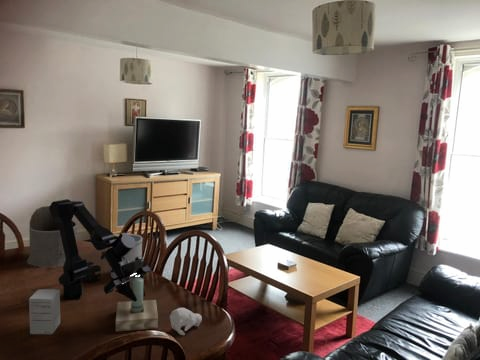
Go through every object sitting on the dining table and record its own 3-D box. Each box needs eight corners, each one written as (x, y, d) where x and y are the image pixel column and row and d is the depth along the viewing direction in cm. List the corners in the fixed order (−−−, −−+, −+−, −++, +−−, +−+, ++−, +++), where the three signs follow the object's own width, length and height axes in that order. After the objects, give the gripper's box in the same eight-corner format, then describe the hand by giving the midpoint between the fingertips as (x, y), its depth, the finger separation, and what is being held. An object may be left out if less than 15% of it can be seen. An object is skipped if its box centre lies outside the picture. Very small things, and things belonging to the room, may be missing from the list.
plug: (130, 320, 136) (131, 282, 134) (131, 314, 140) (131, 277, 138) (143, 319, 137) (143, 282, 135) (142, 313, 141) (143, 277, 139)
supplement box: (38, 322, 133) (38, 288, 131) (60, 323, 134) (60, 289, 132) (29, 334, 126) (28, 298, 124) (52, 334, 126) (51, 298, 124)
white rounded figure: (169, 306, 132) (197, 300, 140) (166, 330, 133) (194, 323, 141) (178, 314, 127) (207, 307, 135) (175, 338, 128) (204, 330, 136)
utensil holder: (110, 282, 168) (110, 244, 166) (107, 270, 182) (107, 234, 179) (144, 279, 174) (145, 242, 172) (139, 267, 188) (139, 232, 185)
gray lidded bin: (67, 248, 208) (67, 203, 205) (94, 265, 187) (94, 215, 183) (20, 257, 192) (19, 208, 188) (44, 276, 170) (43, 222, 167)
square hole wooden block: (115, 332, 130) (115, 321, 129) (117, 312, 143) (117, 302, 143) (157, 328, 134) (157, 317, 133) (155, 309, 147) (155, 299, 146)
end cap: (74, 277, 172) (74, 263, 171) (89, 273, 177) (89, 259, 176) (86, 284, 165) (86, 269, 164) (101, 280, 171) (101, 265, 170)
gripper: (110, 258, 128) (134, 297, 125) (147, 244, 145) (169, 278, 141) (93, 275, 133) (116, 313, 130) (131, 259, 150) (152, 293, 146)
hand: (140, 298), depth 137 cm, fingers closed on plug, 4 cm apart
